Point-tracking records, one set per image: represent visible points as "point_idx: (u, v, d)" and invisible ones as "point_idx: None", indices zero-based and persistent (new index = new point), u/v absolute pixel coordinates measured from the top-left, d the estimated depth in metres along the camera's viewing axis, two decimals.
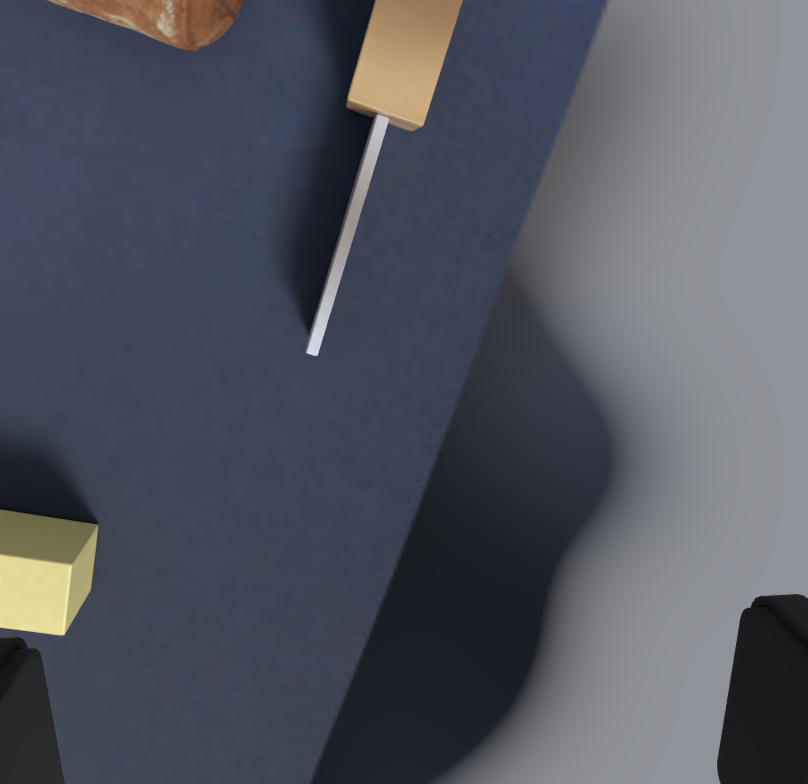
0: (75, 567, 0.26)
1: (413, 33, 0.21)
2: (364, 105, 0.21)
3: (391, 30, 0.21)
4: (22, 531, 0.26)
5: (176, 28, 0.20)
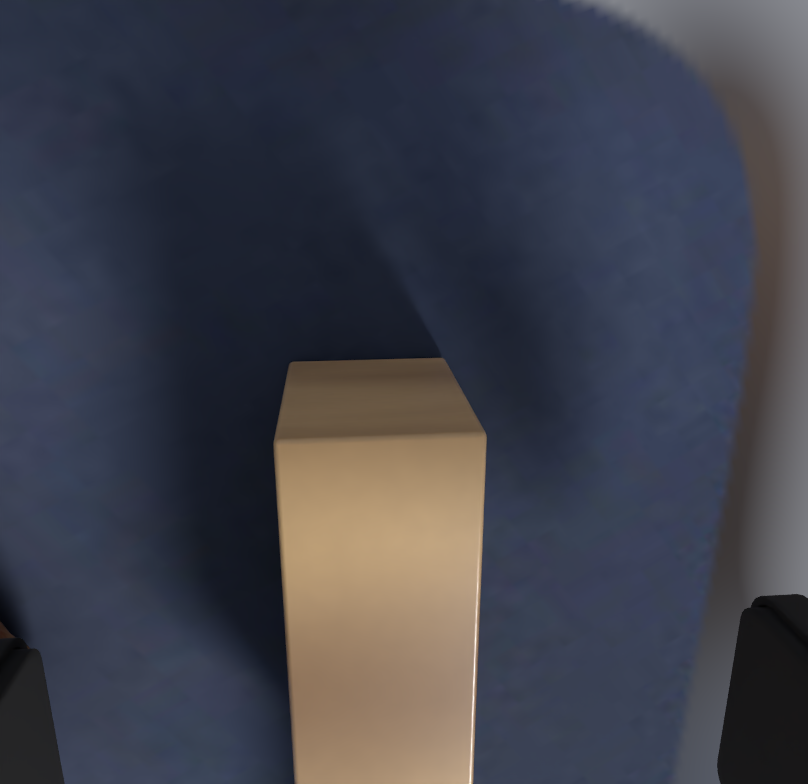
0: None
1: (394, 765, 0.09)
2: None
3: (346, 776, 0.09)
4: None
5: None
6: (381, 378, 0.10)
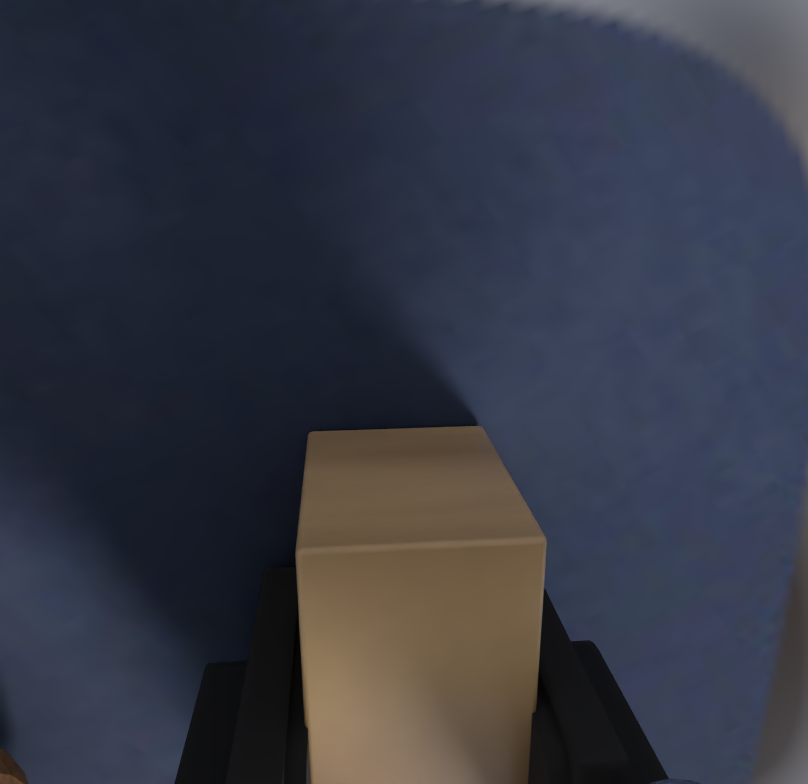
0: None
1: None
2: None
3: None
4: None
5: None
6: (413, 455, 0.09)
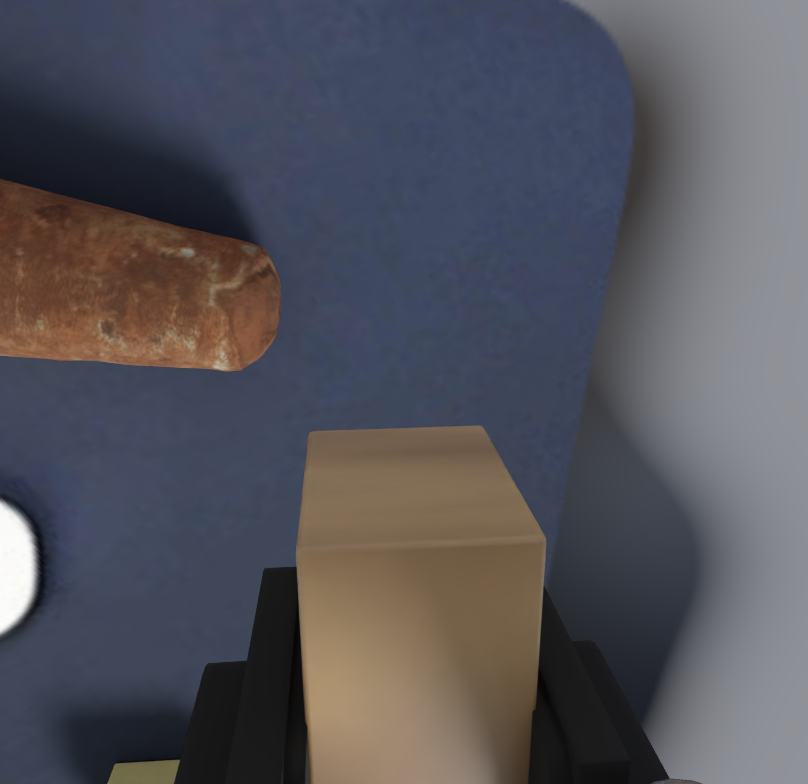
0: None
1: None
2: None
3: None
4: None
5: (231, 366, 0.22)
6: (415, 455, 0.09)
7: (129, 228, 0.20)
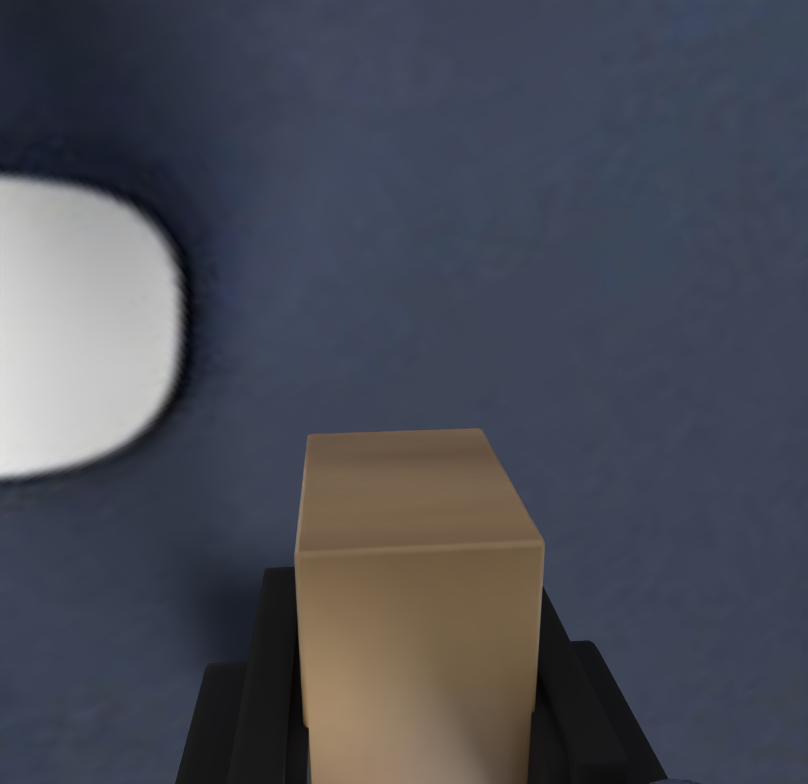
0: None
1: None
2: None
3: None
4: None
5: None
6: (413, 458, 0.09)
7: None
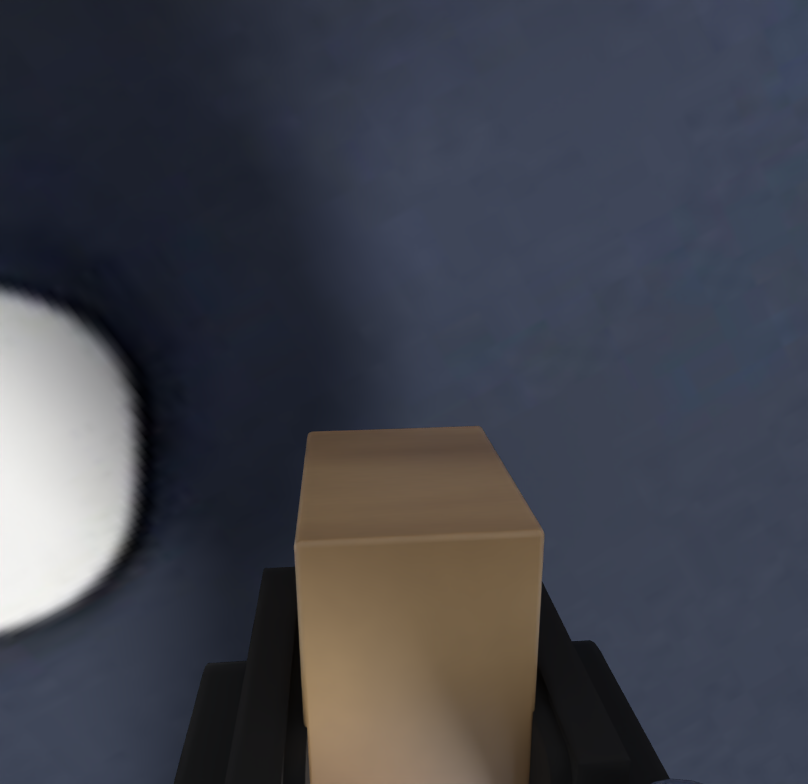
0: None
1: None
2: None
3: None
4: None
5: None
6: (412, 453, 0.09)
7: None
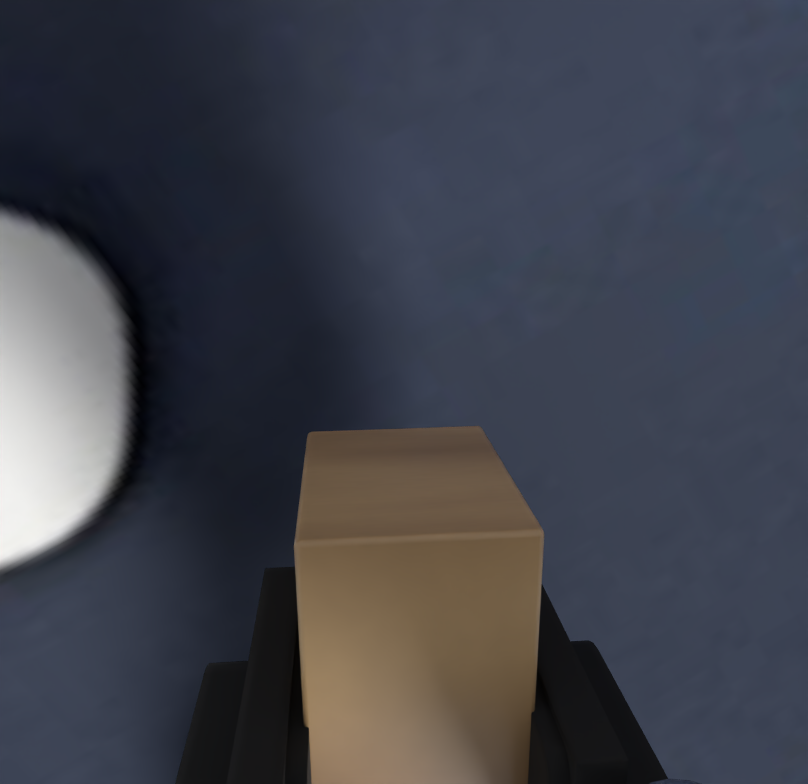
0: None
1: None
2: None
3: None
4: None
5: None
6: (412, 454, 0.09)
7: None
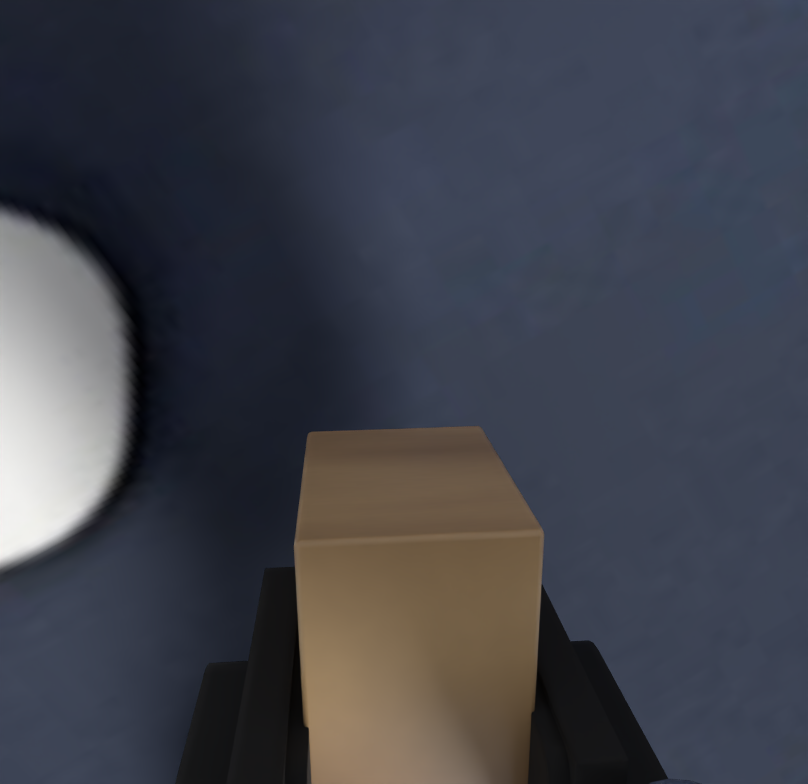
0: None
1: None
2: None
3: None
4: None
5: None
6: (412, 454, 0.09)
7: None
